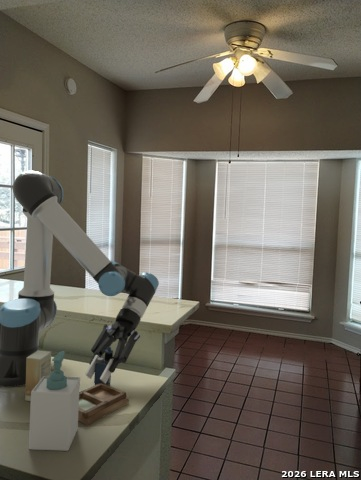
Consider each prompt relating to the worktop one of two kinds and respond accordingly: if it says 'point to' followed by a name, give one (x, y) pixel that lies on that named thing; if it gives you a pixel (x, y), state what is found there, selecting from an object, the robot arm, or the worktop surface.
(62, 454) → the worktop surface
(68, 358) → the worktop surface
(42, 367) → the skincare box
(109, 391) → the divided wooden tray
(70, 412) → the soap bottle
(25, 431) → the worktop surface
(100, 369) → the vaping device
